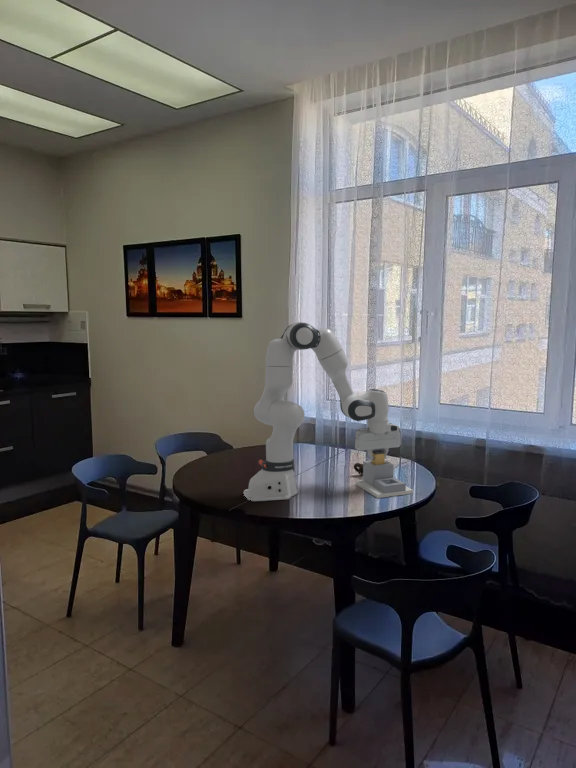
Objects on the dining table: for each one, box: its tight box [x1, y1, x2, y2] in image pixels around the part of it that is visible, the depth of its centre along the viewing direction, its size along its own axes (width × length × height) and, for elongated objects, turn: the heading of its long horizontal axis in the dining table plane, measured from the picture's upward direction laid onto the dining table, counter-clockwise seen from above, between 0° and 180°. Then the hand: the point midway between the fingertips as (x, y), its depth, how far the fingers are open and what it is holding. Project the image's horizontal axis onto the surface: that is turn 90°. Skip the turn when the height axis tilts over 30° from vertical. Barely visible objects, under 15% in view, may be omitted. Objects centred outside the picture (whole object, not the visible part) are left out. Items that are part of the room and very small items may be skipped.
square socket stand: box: [355, 459, 414, 499], centre depth 221 cm, size 16×20×10 cm
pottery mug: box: [353, 459, 370, 476], centre depth 240 cm, size 12×9×8 cm
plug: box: [371, 449, 385, 465], centre depth 225 cm, size 4×4×8 cm
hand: (378, 459), depth 225 cm, fingers closed on plug, 4 cm apart
